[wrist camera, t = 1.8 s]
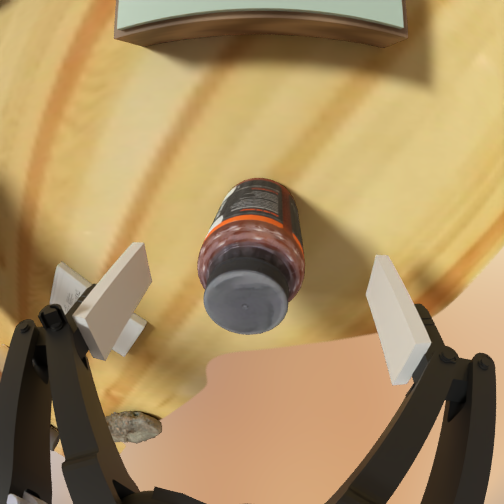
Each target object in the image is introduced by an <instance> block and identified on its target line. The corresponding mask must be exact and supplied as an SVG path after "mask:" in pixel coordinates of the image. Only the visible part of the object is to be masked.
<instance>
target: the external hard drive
mask: <svg viewBox="0 0 504 504" xmlns="http://www.w3.org/2000/svg"><path fill="white" fill-rule="evenodd" d="M91 285H93V284H91V283H90V282H89V281H87V280H86V279H85V278H83V277H82V276H80V275H79V274H78V273H77V272H75V271H74V270H73V269H71V268H70V267H69V266H68V265H66V264H65V263H64V262H62V261H61V262H60V263H59V264H58V265H57V267H56V271H55V276H54V281H53V286H52V292H51V297H50V304H59V305H61V307H62V309H63V312H64V314H65V315H66V314H67V312H68V311H69V310H70V308H71V307H72V306H73V305H74V303H75V302H76V301H77V300H78V298H79V297H80V296H81V295H82V294H83V292H84V291H85V290H86V289H87V288H88V287H90V286H91ZM146 323H147V321H146V320H145V319H143V318H141V317H140V316H138V315H137V314H135V313H134V312H133V314H132V315H131V317H130V319H129V320H128V322H127V324H126V325H125V327H124V329H123V331H122V332H121V334H120V336H119V337H118V339H117V341H116V343H115V345H114V346H113V348H112V350H114V351H116V352H117V353H119V354H120V355H122V356H124V357H125V355H126V354H127V352H128V351H129V349H130V348H131V346H132V345H133V344H134V342H135V341H136V339H137V338H138V336H139V335H140V333H141V332H142V330H143V329H144V327H145V325H146Z"/></svg>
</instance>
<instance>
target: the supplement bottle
mask: <svg viewBox="0 0 504 504" xmlns="http://www.w3.org/2000/svg"><path fill="white" fill-rule="evenodd" d="M197 267H198V269H197V270H198V276H199V278H200V282H201V284H202V286H203V288H204V289H205V293H204V306H205V309H206V312H207V313H208V315H209V316H210V318H211V319H212V320H213V321H214V322H215V323H216V324H218V325H219V326H221V327H222V328H224V329H226V330H228V331H231V332H234V333H238V334H246V335H250V334H261V333H263V332H266V331H269V330H271V329H273V328H274V327H276V326H277V325H279V324H280V322H281V321H282V320H283V319H284V317H285V315H286V313H287V310H288V302H289V301H291V300H292V299H293V298H294V297H295V295H296V294H297V293H298V291H299V290H300V288H301V285H302V282H303V279H304V273H305V260H304V251H303V244H302V237H301V230H300V224H299V217H298V211H297V207H296V204H295V201H294V199H293V197H292V196H291V194H290V193H289V192H288V190H287V189H286V188H284V187H283V186H282V185H281V184H279V183H277V182H275V181H273V180H270V179H265V178H252V179H248V180H245V181H242V182H240V183H239V184H237V185H236V186H234V187H233V188H232V189H231V190H230V191H229V193H228V194H227V195H226V197H225V199H224V200H223V203H222V205H221V206H220V208H219V211H218V213H217V215H216V217H215V219H214V221H213V223H212V225H211V227H210V230H209V232H208V234H207V236H206V238H205V240H204V243H203V245H202V247H201V250H200V253H199V257H198V265H197Z"/></svg>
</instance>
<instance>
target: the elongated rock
mask: <svg viewBox="0 0 504 504" xmlns="http://www.w3.org/2000/svg"><path fill="white" fill-rule="evenodd" d="M105 419H106V422H107V424H108V427H109V430H110V432H111V435H112V438H113V440H114V442H133V443H140V442H142V441H146V440H148V439H151V438H155V436H157V435H158V434H160V433H161V432H162V425H161V422H160V421H158V420H157V419H155V418H153V417H150V416H148V415H145V414H143V413H142V412H131V411H129V412H126V411H124V412H121V413H116V412H114V414H111V416H107V417H105Z"/></svg>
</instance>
